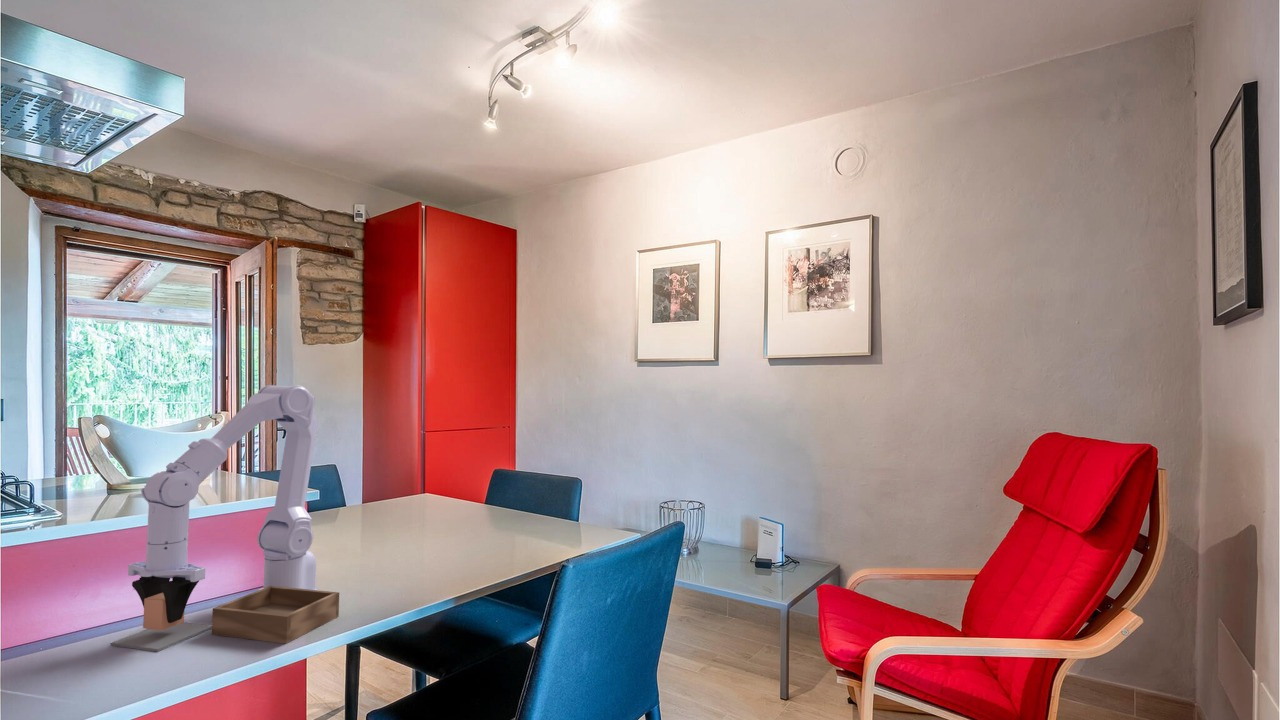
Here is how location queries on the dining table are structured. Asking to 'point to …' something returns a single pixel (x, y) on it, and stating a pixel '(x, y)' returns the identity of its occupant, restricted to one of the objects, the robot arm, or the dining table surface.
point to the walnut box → (275, 614)
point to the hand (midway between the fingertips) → (164, 619)
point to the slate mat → (161, 637)
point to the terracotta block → (157, 613)
